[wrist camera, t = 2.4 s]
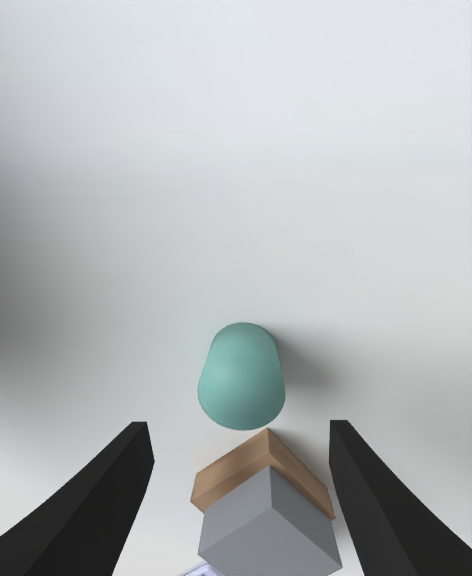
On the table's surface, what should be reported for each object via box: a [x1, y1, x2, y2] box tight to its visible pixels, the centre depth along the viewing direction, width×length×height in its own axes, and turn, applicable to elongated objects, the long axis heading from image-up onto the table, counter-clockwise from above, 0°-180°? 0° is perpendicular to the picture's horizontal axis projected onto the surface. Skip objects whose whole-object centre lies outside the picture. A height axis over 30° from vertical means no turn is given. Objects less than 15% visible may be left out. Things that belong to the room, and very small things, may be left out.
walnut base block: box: [190, 428, 335, 521], centre depth 18 cm, size 7×7×2 cm
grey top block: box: [198, 465, 343, 576], centre depth 16 cm, size 6×6×2 cm
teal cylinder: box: [198, 323, 285, 430], centre depth 15 cm, size 4×4×4 cm
